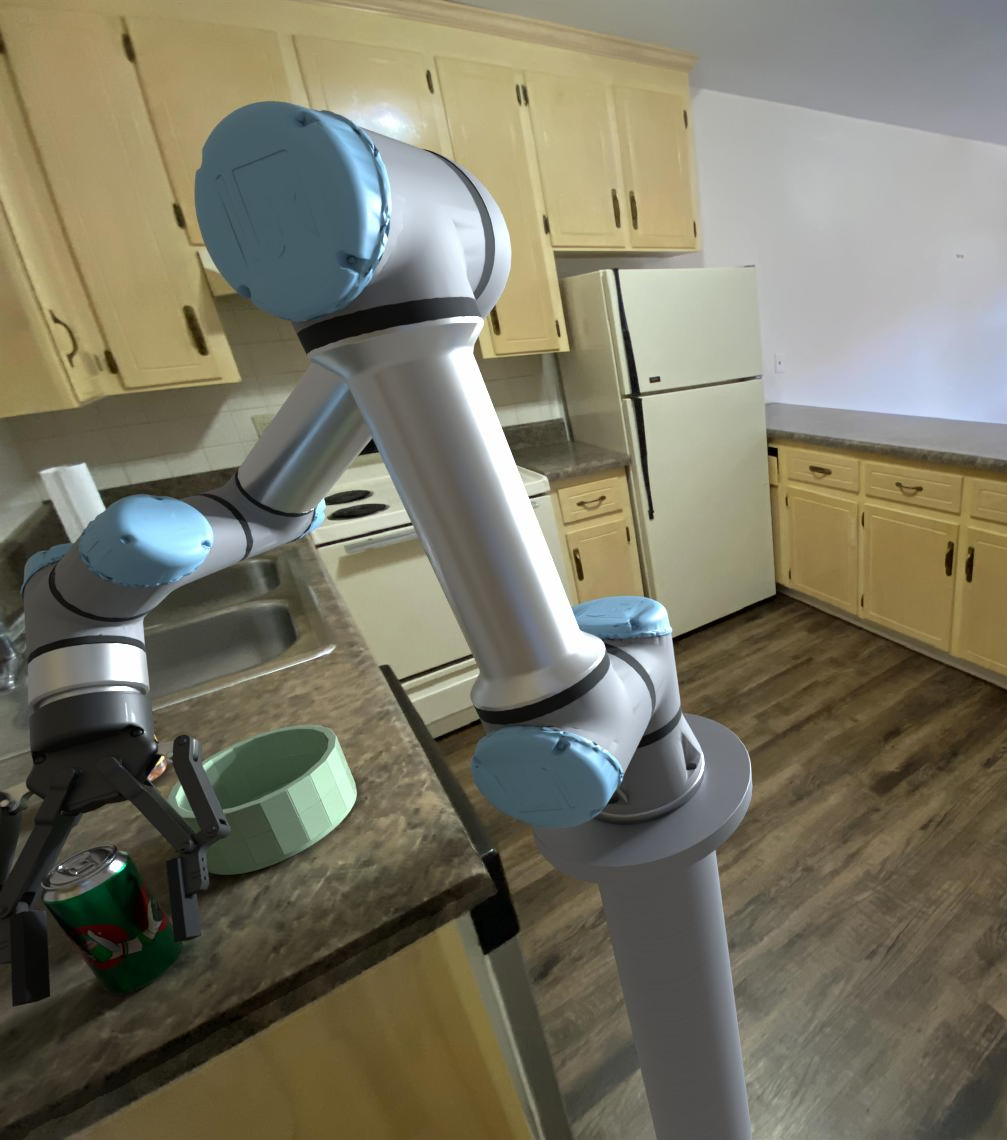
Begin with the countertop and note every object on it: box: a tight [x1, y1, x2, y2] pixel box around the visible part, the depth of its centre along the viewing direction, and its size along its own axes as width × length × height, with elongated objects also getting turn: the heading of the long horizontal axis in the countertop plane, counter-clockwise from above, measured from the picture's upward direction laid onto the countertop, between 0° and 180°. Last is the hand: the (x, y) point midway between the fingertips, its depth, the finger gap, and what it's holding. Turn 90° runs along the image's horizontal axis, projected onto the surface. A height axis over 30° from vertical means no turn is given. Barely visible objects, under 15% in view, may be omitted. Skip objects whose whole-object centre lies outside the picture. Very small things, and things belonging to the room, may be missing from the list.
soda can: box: [40, 843, 184, 995], centre depth 51 cm, size 5×5×12 cm
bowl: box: [166, 724, 358, 876], centre depth 68 cm, size 15×15×8 cm
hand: (113, 968), depth 49 cm, fingers open, 9 cm apart
